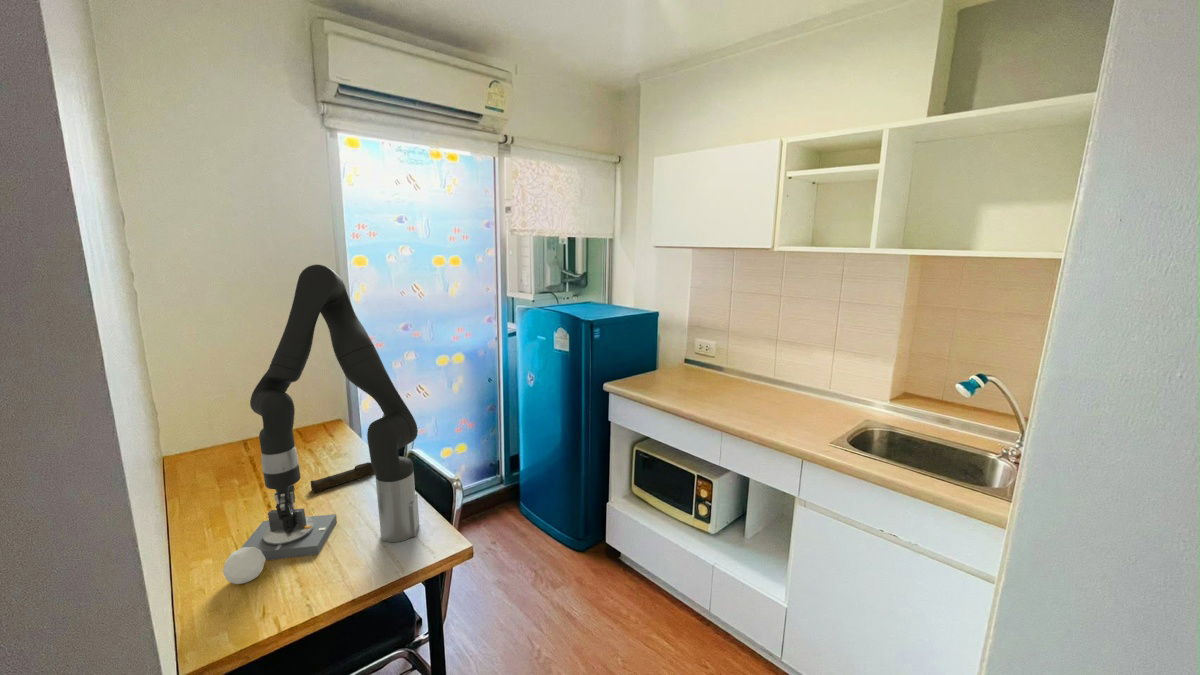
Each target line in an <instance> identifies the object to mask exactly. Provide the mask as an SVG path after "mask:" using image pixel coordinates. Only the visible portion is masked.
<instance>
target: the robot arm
mask: <svg viewBox="0 0 1200 675" xmlns="http://www.w3.org/2000/svg"><path fill="white" fill-rule="evenodd" d="M292 300H293V301H292V304H291V308H290V312H289V314H288V319H287V322H286V325H285V328H284V331H283V333H282V336H281V338H280V341H279V342H278V346H277V348H276V350H275V351H274V354H273V357H272V360H271V362H270V365H269V366H268V369H267V370H266V372H265V373H264V374H263V376H262V378H261V379H260V380H259V381H258V383H257V385H256V386H255V388H254V389H253V391H252V392H251V396H250V400H249V402H250V403H249V405H250V408H251V410H252V411H253V412H254V414H257V415H259V416H260V417H261V420H262V429H260V431H259V434H258V435H259V437H258V439H259V445H260V446H259V447H260V451H261V452H260V454H261V461H260V462H261V468H262V474H263V480H264V485H265V487H266V488H267V489H269V490H275V493H274V501H276V506H275V509H276V510H277V512H278V515H279V519H280V521H281V520H282V522H283V528H284V531H285V532H287V531H291V530H293V529H294V522H293V512H292V509H295V507H296V506H295V502H296V496H295V491H296V489H295V488H296V487H295V485H296V484H297V483H298V482H299V481H300V480H301V471H300V464H299V456H298V451H297V448H296V442H295V435H294V431H293V430H294V429H293V428H294V424H295V422H294V421H295V414H296V413H295V412H296V411H295V410H296V409H295V405H294V404H295V403H294V400H293V398H292V397H291V395H289V394H288V393H287V390H288V389H289V387H290V386H291V383H295V382H297V381H298V380H300V379H301V376H302V374H303V371H304V369H305V367H306V364H307V361H308V359H309V357H310V354H311V351H312V348H313V347H312V346H313V340H314V335H315V329H316V325H317V321H318V318H319V316H320V314H321V316H322V318H323V319H324V321H325V323H326V326H327V328H328V332H329V336H330V341H331V345H332V349H333V352H334V355H335V358H336V360H337V362H338V364H339V367H340V369H341V370H342V373H343V374H344V375H345V377H346V379H347V380H348V381H349V382H351V383H352V384H353V385H355V386H356V387H357V388H358V389H360V390H361V391H362V392H365V393H366V394H367V395H368V396H370V397H371V398H372V399H373V400H374V401H375V402H376V403H377V405H378V406H379V408H380V410H381V411H382V412H383V417H380V418H378V419H376V420H373V421H372V422H371V423H370V424H369V426H368V428H367V433H366V434H367V435H366V438H367V445H368V453H369V459H370V463H371V464H372V467H373V469H374V472H375V473H374V475H375V486H376V496H377V507H378V517H379V520H378V521H379V531H380V537H381V539H382V540H383V541H384V542H388V543H398V542H403V541H406V540H408V539H410V538H415V537H416V536H417V533H418V531H419V527H420V516H419V515H420V514H419V503H418V502H419V500H418V493H417V492H416V489H415V488H416V486H415V474H414V473H415V471H414V462H413V460H412V459H410V457H407V456H400V455H399V450H400V449H402V448H404V447H405V446H407V445H410V444H411V443H412V442H414V441H415V440H416V439H417V437H418V433H419V432H418V426H417V422H416V420H415V417H414V416H413V414H412V412H411V411H410V410H409V408H408V406H407V405H406V403H405V401H404V400H403V398H402V396H401V395H400V394H399V392H398V390H397V388H396V387H395V385H394V382H393V381H392V379H391V378H390V375H389V373H388V372H387V370H386V368H385V366H384V364H383V361H382V360H381V358H380V355H379V352H378V351H377V348H376V347H375V345H374V343H373V341H372V340H371V338H370V336H369V335H368V332H367V330H366V329H365V327H364V325H363V324H362V323H361V321H360V319H359V318H358V316H357V314H356V312H355V310H354V308H353V305H352V303H351V300H350V297H349V294H348V292H347V288H346V285H345V282H344V280H343V278H342V277H341V276H340V275H339V274H337V273H336V272H335V270H333V269H332V268H330V267H329V266H326V265H323V264H312V265H308V266H306V267H305V268H304V269H303V270H302V271H301V273H299V275H298V280H297V283H296V288H295V291H294V295H293V299H292Z"/></svg>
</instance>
